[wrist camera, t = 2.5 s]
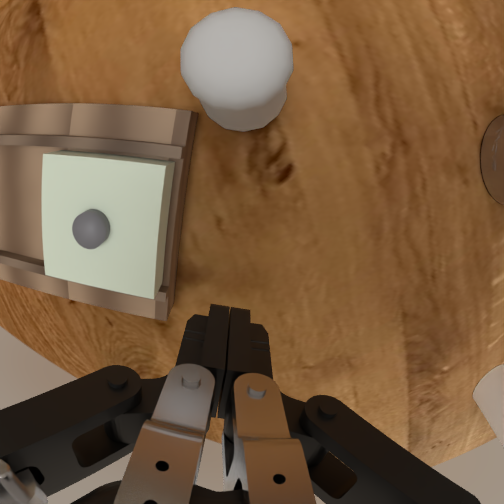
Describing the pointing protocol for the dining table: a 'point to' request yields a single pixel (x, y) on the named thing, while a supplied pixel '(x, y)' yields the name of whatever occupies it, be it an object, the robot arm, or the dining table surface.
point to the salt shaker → (238, 67)
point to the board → (86, 140)
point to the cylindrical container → (492, 399)
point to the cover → (106, 219)
